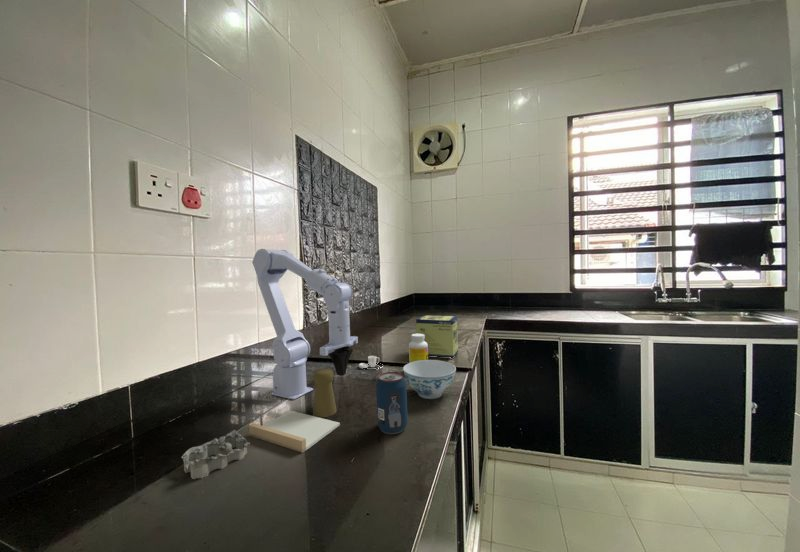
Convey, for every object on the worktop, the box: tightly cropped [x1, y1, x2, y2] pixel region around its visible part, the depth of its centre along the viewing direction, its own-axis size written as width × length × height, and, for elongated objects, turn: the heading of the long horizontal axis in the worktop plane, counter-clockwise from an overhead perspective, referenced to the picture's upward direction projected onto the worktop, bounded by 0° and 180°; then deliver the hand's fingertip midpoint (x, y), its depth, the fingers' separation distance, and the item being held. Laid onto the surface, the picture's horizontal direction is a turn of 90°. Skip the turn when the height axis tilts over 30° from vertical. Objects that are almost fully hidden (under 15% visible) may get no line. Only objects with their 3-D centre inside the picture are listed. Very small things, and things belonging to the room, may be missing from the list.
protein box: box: [415, 315, 459, 358], centre depth 130 cm, size 10×16×16 cm
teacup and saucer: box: [358, 355, 384, 370], centre depth 117 cm, size 9×8×4 cm
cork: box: [312, 368, 337, 418], centre depth 80 cm, size 6×6×11 cm
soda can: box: [375, 371, 408, 435], centre depth 71 cm, size 7×7×12 cm
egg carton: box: [181, 429, 251, 480], centre depth 61 cm, size 10×7×4 cm
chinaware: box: [402, 359, 457, 400], centre depth 89 cm, size 15×15×8 cm
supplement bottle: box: [408, 333, 429, 363], centre depth 110 cm, size 7×7×13 cm
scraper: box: [248, 410, 341, 454], centre depth 72 cm, size 16×12×2 cm
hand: (341, 374), depth 87 cm, fingers closed
